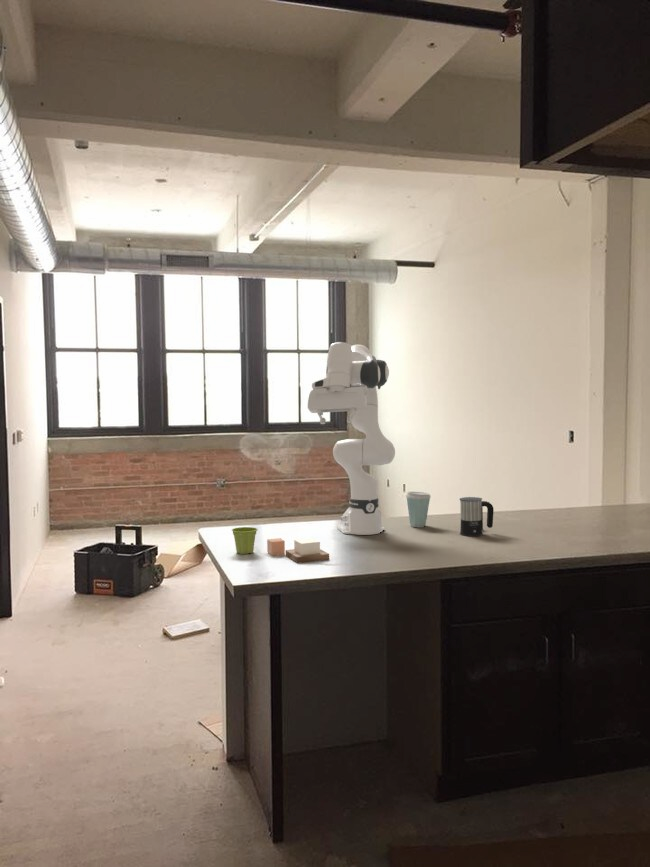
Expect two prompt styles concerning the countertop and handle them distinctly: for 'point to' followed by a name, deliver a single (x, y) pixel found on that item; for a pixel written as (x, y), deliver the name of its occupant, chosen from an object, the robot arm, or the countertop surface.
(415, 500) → the disposable coffee cup
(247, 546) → the plant pot
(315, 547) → the cream block
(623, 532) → the countertop surface
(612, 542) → the countertop surface
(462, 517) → the milk frother
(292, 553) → the walnut base
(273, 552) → the terracotta cube
